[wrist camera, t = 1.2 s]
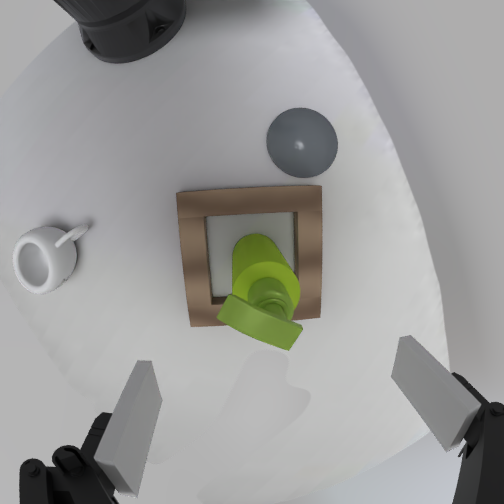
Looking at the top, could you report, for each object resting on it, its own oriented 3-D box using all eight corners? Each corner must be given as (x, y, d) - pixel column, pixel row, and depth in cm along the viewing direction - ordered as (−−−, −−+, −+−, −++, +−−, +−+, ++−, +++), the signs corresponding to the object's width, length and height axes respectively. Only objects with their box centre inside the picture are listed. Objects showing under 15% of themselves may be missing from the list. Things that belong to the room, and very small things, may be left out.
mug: (59, 288, 37) (31, 308, 29) (32, 241, 35) (1, 254, 27) (111, 248, 36) (86, 264, 29) (81, 196, 34) (50, 200, 27)
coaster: (264, 108, 33) (265, 107, 33) (333, 110, 34) (335, 109, 33) (268, 178, 35) (269, 178, 35) (337, 177, 36) (339, 177, 35)
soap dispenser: (238, 221, 36) (244, 268, 17) (286, 246, 38) (339, 313, 18) (217, 262, 37) (202, 345, 18) (264, 285, 39) (293, 380, 19)
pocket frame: (179, 192, 35) (176, 192, 33) (315, 185, 36) (321, 185, 34) (192, 318, 39) (190, 326, 37) (315, 309, 40) (320, 317, 38)
